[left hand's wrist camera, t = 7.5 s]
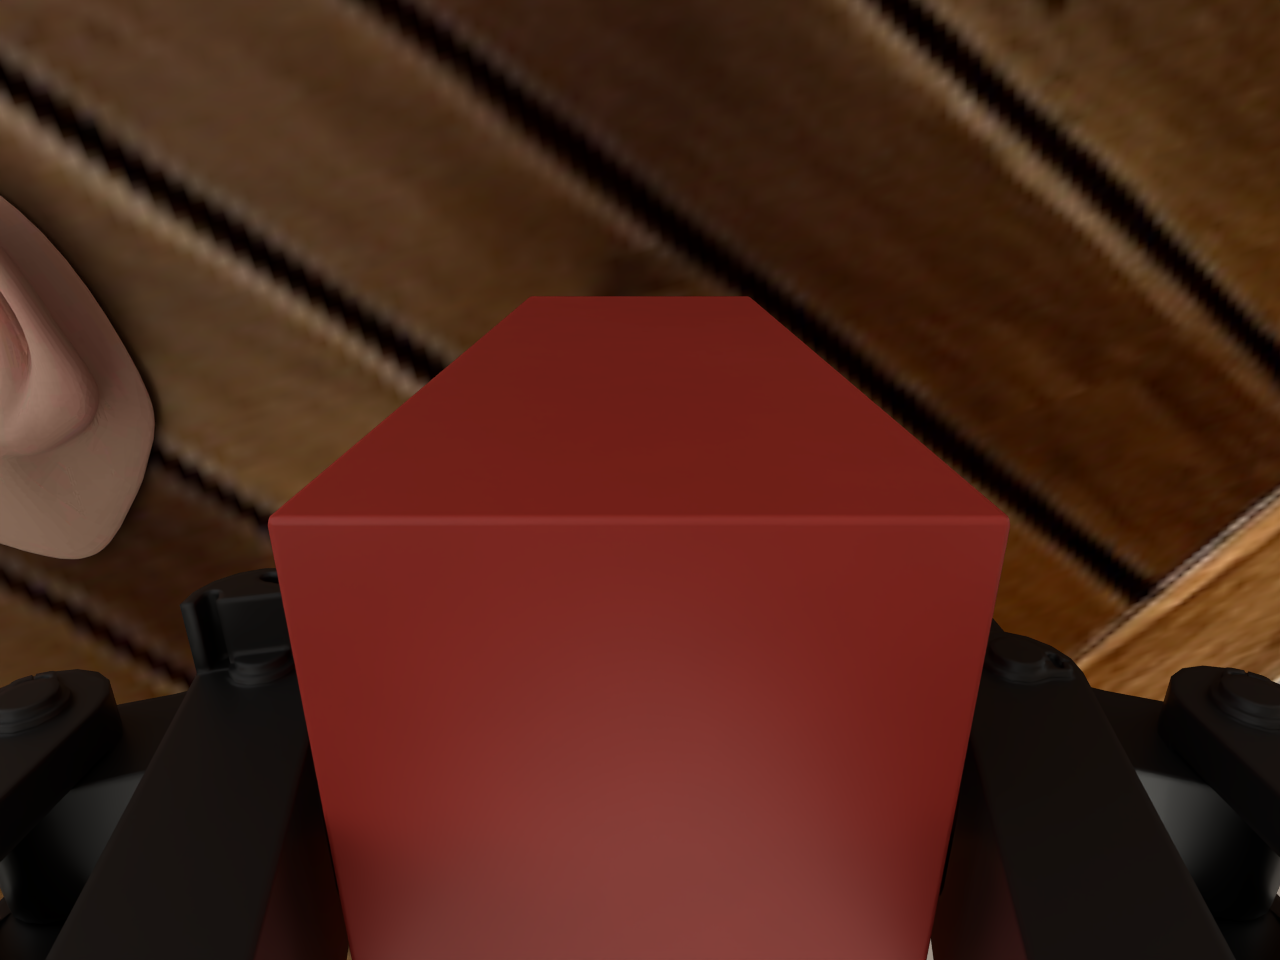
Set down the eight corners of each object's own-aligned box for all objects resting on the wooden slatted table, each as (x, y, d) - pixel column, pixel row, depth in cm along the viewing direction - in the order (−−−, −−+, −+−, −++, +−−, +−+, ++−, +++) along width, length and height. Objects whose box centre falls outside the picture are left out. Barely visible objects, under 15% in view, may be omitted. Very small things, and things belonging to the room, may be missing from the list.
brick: (735, 593, 18) (883, 1198, 7) (544, 593, 18) (396, 1198, 7) (750, 295, 16) (1016, 518, 5) (529, 296, 16) (263, 518, 5)
